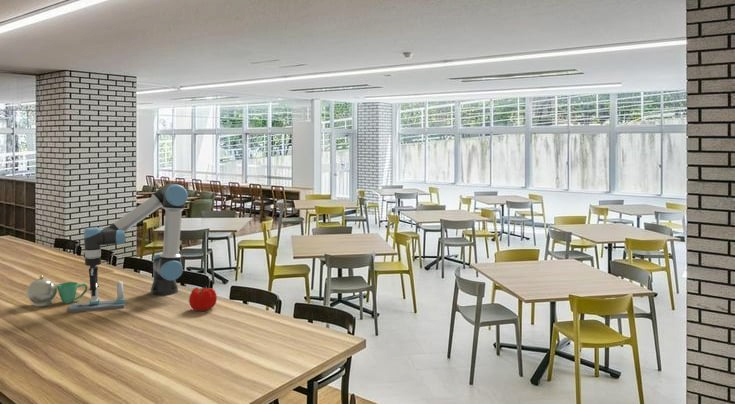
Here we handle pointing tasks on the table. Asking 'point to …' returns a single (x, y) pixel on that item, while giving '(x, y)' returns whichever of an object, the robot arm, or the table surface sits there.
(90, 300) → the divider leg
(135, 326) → the table surface
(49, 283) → the teapot
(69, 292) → the mug
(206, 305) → the tomato
